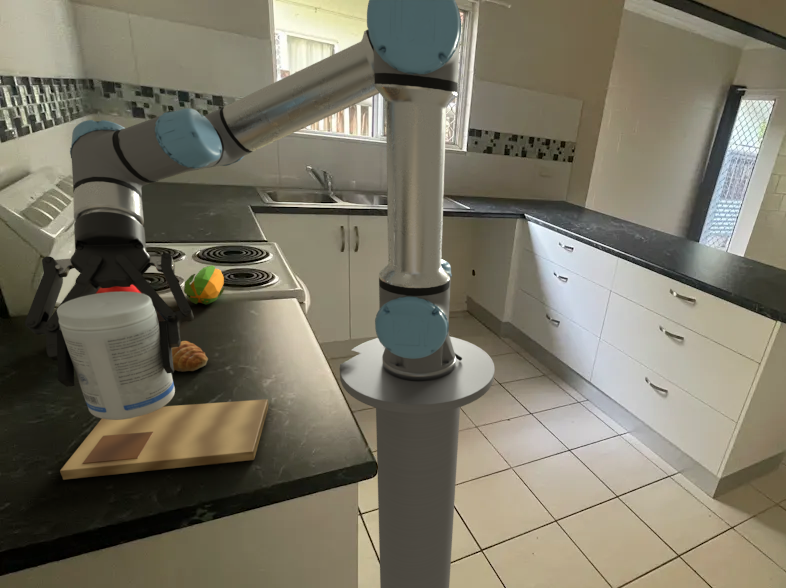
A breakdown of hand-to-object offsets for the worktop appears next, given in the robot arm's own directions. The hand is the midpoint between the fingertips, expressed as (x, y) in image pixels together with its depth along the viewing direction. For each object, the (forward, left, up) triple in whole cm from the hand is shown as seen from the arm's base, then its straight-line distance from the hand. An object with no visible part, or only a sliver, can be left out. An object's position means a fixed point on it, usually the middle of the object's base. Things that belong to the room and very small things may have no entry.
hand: (119, 376), depth 60 cm
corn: (+7, -66, -13) cm, 68 cm away
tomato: (+19, -45, -13) cm, 50 cm away
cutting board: (-3, -4, -13) cm, 14 cm away
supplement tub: (+1, -3, -6) cm, 7 cm away
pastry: (+3, -29, -13) cm, 32 cm away
